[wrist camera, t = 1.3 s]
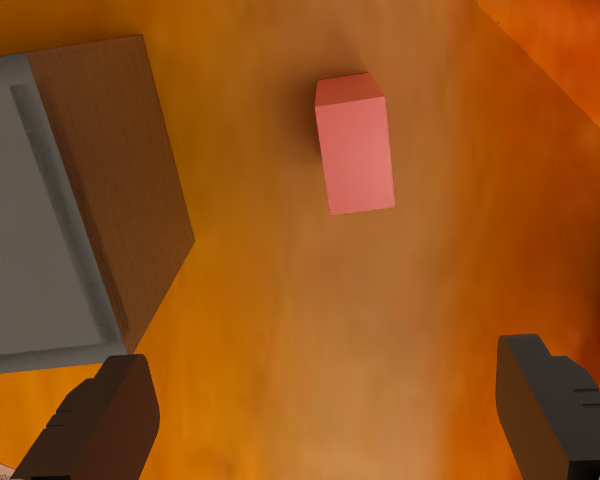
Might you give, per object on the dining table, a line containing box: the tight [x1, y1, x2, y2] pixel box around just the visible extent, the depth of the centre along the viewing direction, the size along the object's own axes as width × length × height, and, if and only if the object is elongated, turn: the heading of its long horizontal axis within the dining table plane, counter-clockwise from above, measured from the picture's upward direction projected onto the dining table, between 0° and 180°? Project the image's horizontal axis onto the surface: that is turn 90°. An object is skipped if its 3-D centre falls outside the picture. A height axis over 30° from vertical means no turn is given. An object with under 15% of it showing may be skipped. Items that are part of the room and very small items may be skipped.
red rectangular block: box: [315, 73, 395, 215], centre depth 28 cm, size 3×5×9 cm, turn 9°
